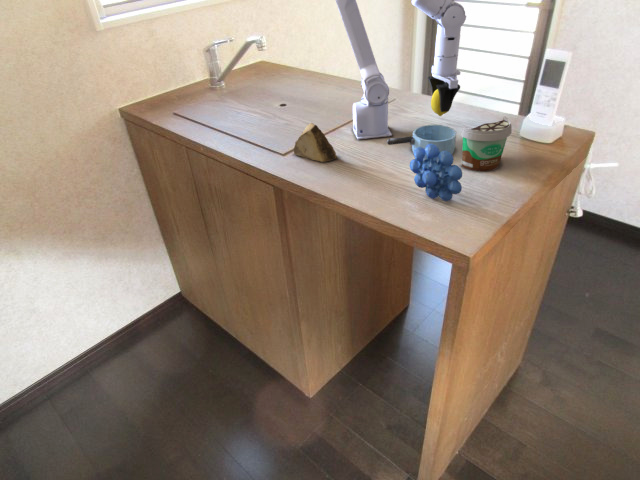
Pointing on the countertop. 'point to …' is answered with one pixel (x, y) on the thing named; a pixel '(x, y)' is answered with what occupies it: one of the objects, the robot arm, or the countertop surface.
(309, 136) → the rock
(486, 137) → the food container
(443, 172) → the grapes
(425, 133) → the pan
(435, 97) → the lemon
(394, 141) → the pan handle
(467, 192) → the countertop surface
